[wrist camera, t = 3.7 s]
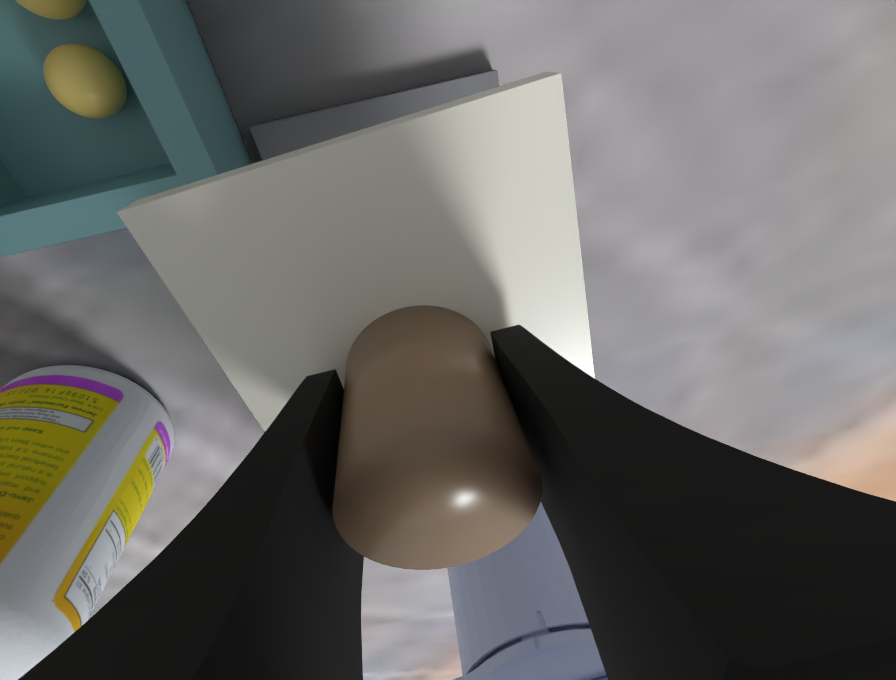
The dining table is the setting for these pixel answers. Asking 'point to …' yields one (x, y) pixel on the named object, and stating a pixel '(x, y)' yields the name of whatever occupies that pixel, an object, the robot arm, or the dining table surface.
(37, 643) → the supplement bottle
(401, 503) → the lid
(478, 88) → the pad
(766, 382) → the dining table surface
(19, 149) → the box
